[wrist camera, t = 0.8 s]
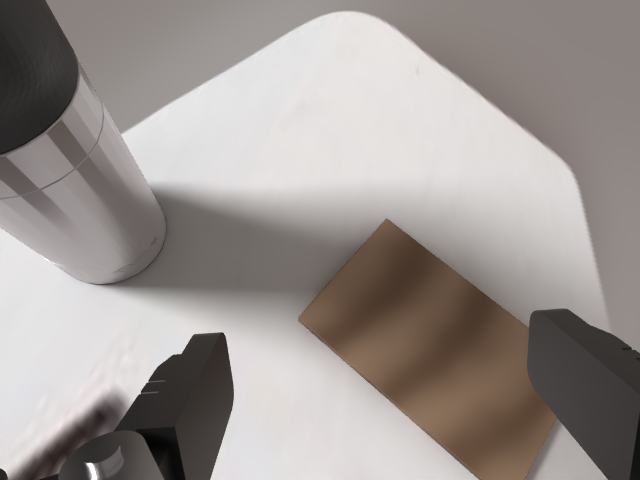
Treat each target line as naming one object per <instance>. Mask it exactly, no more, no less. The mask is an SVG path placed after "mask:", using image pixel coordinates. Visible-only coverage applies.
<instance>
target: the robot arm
mask: <svg viewBox="0 0 640 480" xmlns="http://www.w3.org/2000/svg"><path fill="white" fill-rule="evenodd" d="M0 228H2V229H3V230H5V231H6V232H8V233H9V234H11V235H12V236H14V237H15V238H16V239H18V240H19V241H21V242H22V243H24V244H25V245H27V246H28V247H30V248H31V249H33V250H34V251H35V252H37V253H38V254H40V255H41V256H42V257H44V258H45V259H47V260H48V261H50V262H51V263H53V264H54V265H56V266H57V267H59V268H60V269H61V270H63V271H64V272H66V273H67V274H69V275H71V276H72V277H74V278H76V279H78V280H81V281H84V282H87V283H94V284H108V283H115V282H118V281H122V280H125V279H128V278H130V277H132V276H134V275H136V274H138V273H139V272H140V271H142V270H143V269H144V268H146V267H147V266H148V265H149V264H150V263H151V262H152V261H153V260H154V259H155V258H156V256H157V254H158V253H159V251H160V250H161V248H162V245H163V242H164V240H165V235H166V220H165V216H164V214H163V211H162V209H161V207H160V205H159V203H158V201H157V200H156V198H155V196H154V194H153V192H152V191H151V189H150V187H149V185H148V183H147V181H146V179H145V178H144V176H143V174H142V172H141V170H140V169H139V167H138V165H137V163H136V161H135V160H134V158H133V156H132V154H131V153H130V151H129V149H128V147H127V145H126V144H125V142H124V140H123V138H122V136H121V135H120V133H119V131H118V129H117V127H116V126H115V124H114V122H113V120H112V119H111V117H110V115H109V113H108V111H107V110H106V108H105V106H104V104H103V102H102V101H101V99H100V97H99V95H98V94H97V92H96V90H95V89H94V87H93V85H92V83H91V81H90V80H89V78H88V76H87V74H86V72H85V71H84V69H83V67H82V65H81V63H80V62H79V60H78V58H77V56H76V54H75V53H74V50H73V49H72V47H71V45H70V43H69V42H68V40H67V38H66V37H65V35H64V33H63V31H62V29H61V28H60V26H59V24H58V22H57V20H56V19H55V17H54V15H53V13H52V11H51V10H50V8H49V6H48V4H47V2H46V1H45V0H0ZM527 371H528V376H529V379H530V382H531V384H532V386H533V388H534V390H535V391H536V392H537V393H538V395H539V396H540V397H541V398H542V399H543V401H544V402H545V403H546V404H547V406H548V407H549V408H550V409H551V410H552V412H553V413H554V414H555V415H556V417H557V418H558V419H559V420H560V421H561V423H562V424H563V425H564V426H565V428H566V429H567V430H568V431H569V432H570V434H571V435H572V436H573V437H574V439H575V440H576V441H577V442H578V443H579V445H580V446H581V447H582V448H583V450H584V451H585V452H586V453H587V454H588V456H589V457H590V458H591V459H592V461H593V462H594V463H595V464H596V465H597V467H598V468H599V469H600V470H601V471H602V473H603V474H604V475H605V476H606V478H607V479H608V480H640V353H639V352H637V351H636V350H632V348H631V347H630V346H628V345H627V344H625V343H624V342H623V341H621V340H620V339H618V338H617V337H616V336H614V335H612V334H610V333H607V332H605V331H603V330H600V329H598V328H595V327H593V326H590V325H589V324H587V323H586V322H585V321H583V320H582V319H581V318H579V317H578V316H577V315H575V314H574V313H572V312H571V311H570V310H568V309H550V310H536V311H534V312H533V313H532V314H531V317H530V325H529V341H528V357H527ZM233 399H234V388H233V380H232V373H231V367H230V361H229V354H228V348H227V341H226V337H225V335H224V333H222V332H220V333H206V334H194V335H193V336H192V338H191V339H190V341H189V343H188V344H187V346H186V348H185V349H184V351H183V352H182V354H177V355H172V356H171V357H170V358H169V359H167V360H166V361H165V362H163V363H162V364H161V365H159V366H158V367H157V369H156V370H155V371H154V373H153V374H152V376H151V377H150V379H149V382H148V383H146V385H145V386H144V388H143V389H142V391H141V394H139V395H138V397H137V398H136V399H135V401H134V402H133V404H132V405H131V407H130V408H129V410H128V411H127V413H126V414H125V416H124V417H123V419H122V420H121V422H120V423H119V424H118V426H117V427H116V429H115V430H114V432H111V433H107V434H104V435H101V436H99V437H97V438H95V439H93V440H91V441H89V442H87V443H85V444H84V445H82V446H81V447H80V448H78V449H77V450H76V451H75V452H73V453H72V454H71V455H70V456H69V457H68V458H67V460H66V461H65V462H64V464H63V465H62V467H61V469H60V472H59V474H56V475H53V476H50V477H46V478H43V479H40V480H210V478H211V475H212V472H213V468H214V465H215V462H216V459H217V456H218V453H219V449H220V446H221V443H222V440H223V437H224V433H225V430H226V427H227V424H228V421H229V417H230V414H231V411H232V407H233ZM0 480H8V477H7V474H6V472H5V471H4V470H2V469H0Z"/></svg>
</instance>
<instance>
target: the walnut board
mask: <svg viewBox="0 0 640 480" xmlns="http://www.w3.org/2000/svg"><path fill="white" fill-rule="evenodd" d="M298 321H299V322H301V323H302V324H303V325H304V326H305V327H306V328H307V329H309V330H310V331H311V332H312V333H313V334H314V335H315V336H317V337H318V338H319V339H320V340H321V341H322V342H323V343H324V344H326V345H327V346H328V347H329V348H330V349H331V350H332V351H334V352H335V353H336V354H337V355H338V356H339V357H340V358H342V359H343V360H344V361H345V362H346V363H347V364H348V365H350V366H351V367H352V368H353V369H354V370H355V371H356V372H357V373H359V374H360V375H361V376H362V377H363V378H364V379H365V380H367V381H368V382H369V383H370V384H371V385H372V386H373V387H375V388H376V389H377V390H378V391H379V392H380V393H381V394H383V395H384V396H385V397H386V398H387V399H388V400H389V401H390V402H392V403H393V404H394V405H395V406H396V407H397V408H398V409H400V410H401V411H402V412H403V413H404V414H405V415H406V416H408V417H409V418H410V419H411V420H412V421H413V422H414V423H415V424H417V425H418V426H419V427H420V428H421V429H422V430H423V431H425V432H426V433H427V434H428V435H429V436H430V437H431V438H433V439H434V440H435V441H436V442H437V443H438V444H439V445H441V446H442V447H443V448H444V449H445V450H446V451H447V452H448V453H450V454H451V455H452V456H453V457H454V458H455V459H456V460H458V461H459V462H460V463H461V464H462V465H463V466H464V467H466V468H467V469H468V470H469V471H470V472H471V473H472V474H474V475H475V476H476V477H477V478H478V479H479V480H525V478H526V476H527V474H528V472H529V470H530V468H531V466H532V464H533V462H534V460H535V458H536V456H537V455H538V453H539V451H540V449H541V447H542V445H543V443H544V441H545V439H546V437H547V435H548V433H549V431H550V430H551V428H552V426H553V424H554V422H555V420H556V418H557V417H556V415H555V414H554V413H553V412H552V410H551V409H550V408H549V407H548V406H547V404H546V403H545V402H544V401H543V399H542V398H541V397H540V396H539V395H538V393H537V392H536V391H535V390H534V388H533V386H532V384H531V382H530V379H529V376H528V371H527V357H528V341H529V328H528V327H527V326H525V325H524V324H523V323H521V322H520V321H519V320H518V319H516V318H515V317H514V316H512V315H511V314H510V313H509V312H507V311H506V310H505V309H503V308H502V307H501V306H499V305H498V304H497V303H496V302H494V301H493V300H492V299H490V298H489V297H488V296H487V295H485V294H484V293H483V292H481V291H480V290H479V289H477V288H476V287H475V286H474V285H472V284H471V283H470V282H468V281H467V280H466V279H465V278H463V277H462V276H461V275H459V274H458V273H457V272H455V271H454V270H453V269H452V268H450V267H449V266H448V265H446V264H445V263H444V262H443V261H441V260H440V259H439V258H437V257H436V256H435V255H433V254H432V253H431V252H430V251H428V250H427V249H426V248H424V247H423V246H422V245H421V244H419V243H418V242H417V241H415V240H414V239H413V238H412V237H410V236H409V235H408V234H406V233H405V232H404V231H402V230H401V229H400V228H399V227H397V226H396V225H395V224H393V223H392V222H391V221H390V220H388V219H386V220H385V221H384V222H383V223H382V224H381V225H380V226H379V228H378V229H377V230H376V231H375V232H374V233H373V234H372V235H371V237H370V238H369V239H368V240H367V241H366V242H365V243H364V244H363V246H362V247H361V248H360V249H359V250H358V251H357V252H356V253H355V255H354V256H353V257H352V258H351V259H350V260H349V261H348V262H347V264H346V265H345V266H344V267H343V268H342V269H341V270H340V271H339V273H338V274H337V275H336V276H335V277H334V278H333V279H332V280H331V282H330V283H329V284H328V285H327V286H326V287H325V288H324V289H323V291H322V292H321V293H320V294H319V295H318V296H317V297H316V298H315V300H314V301H313V302H312V303H311V304H310V305H309V306H308V307H307V309H306V310H305V311H304V312H303V313H302V314H301V315H300V316H299V319H298Z"/></svg>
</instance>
